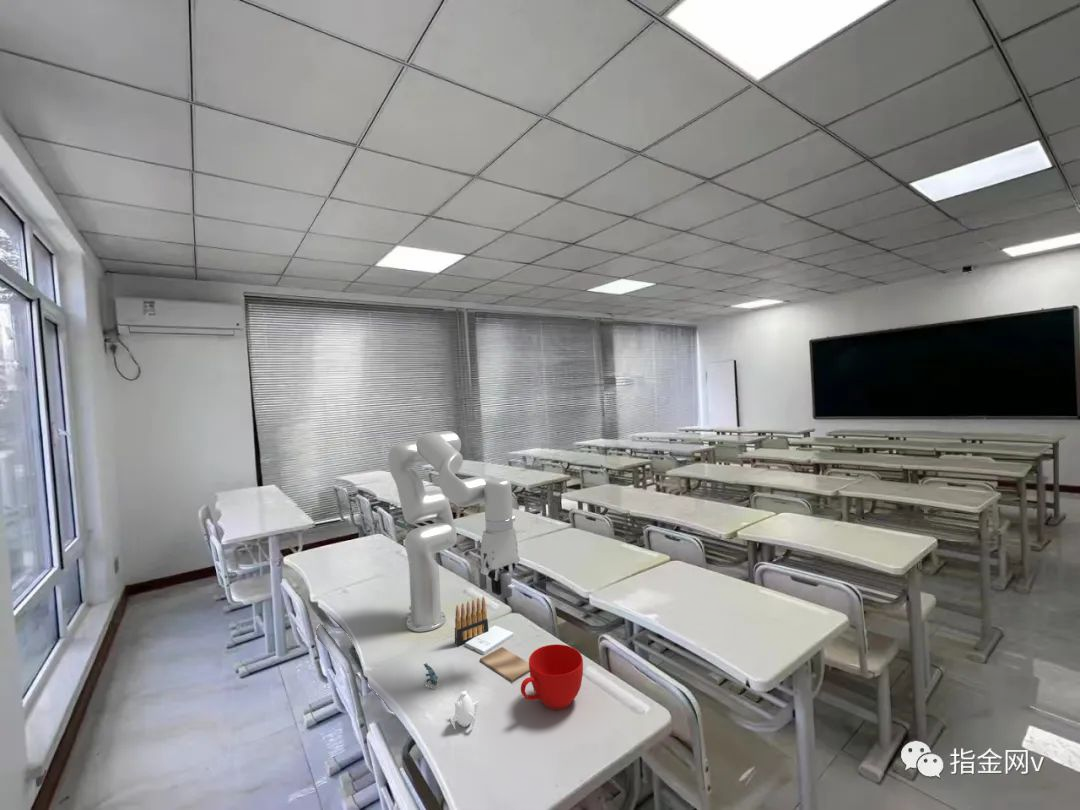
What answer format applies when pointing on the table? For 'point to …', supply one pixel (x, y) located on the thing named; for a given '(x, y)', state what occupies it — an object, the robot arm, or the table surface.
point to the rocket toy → (464, 711)
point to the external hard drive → (489, 640)
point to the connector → (505, 583)
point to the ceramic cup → (554, 675)
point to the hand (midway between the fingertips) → (501, 590)
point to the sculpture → (431, 678)
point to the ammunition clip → (470, 622)
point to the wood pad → (506, 664)
